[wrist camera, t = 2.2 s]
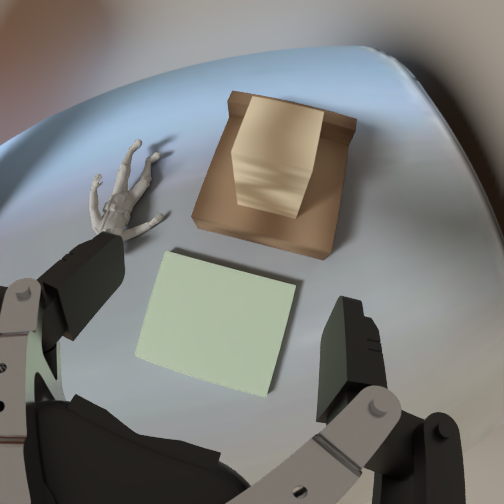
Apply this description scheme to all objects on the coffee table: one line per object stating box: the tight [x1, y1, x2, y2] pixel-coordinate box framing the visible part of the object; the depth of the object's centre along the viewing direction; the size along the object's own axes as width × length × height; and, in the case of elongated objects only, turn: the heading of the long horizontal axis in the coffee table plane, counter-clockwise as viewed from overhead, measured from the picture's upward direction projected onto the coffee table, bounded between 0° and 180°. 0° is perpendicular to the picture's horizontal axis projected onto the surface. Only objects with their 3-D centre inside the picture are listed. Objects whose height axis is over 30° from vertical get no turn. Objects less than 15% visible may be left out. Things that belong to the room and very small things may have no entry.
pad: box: [135, 251, 296, 397], centre depth 25 cm, size 12×10×1 cm
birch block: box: [231, 96, 324, 219], centre depth 22 cm, size 5×5×8 cm
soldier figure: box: [89, 139, 164, 242], centre depth 27 cm, size 8×5×12 cm
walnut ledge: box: [191, 91, 357, 260], centre depth 26 cm, size 12×12×6 cm
